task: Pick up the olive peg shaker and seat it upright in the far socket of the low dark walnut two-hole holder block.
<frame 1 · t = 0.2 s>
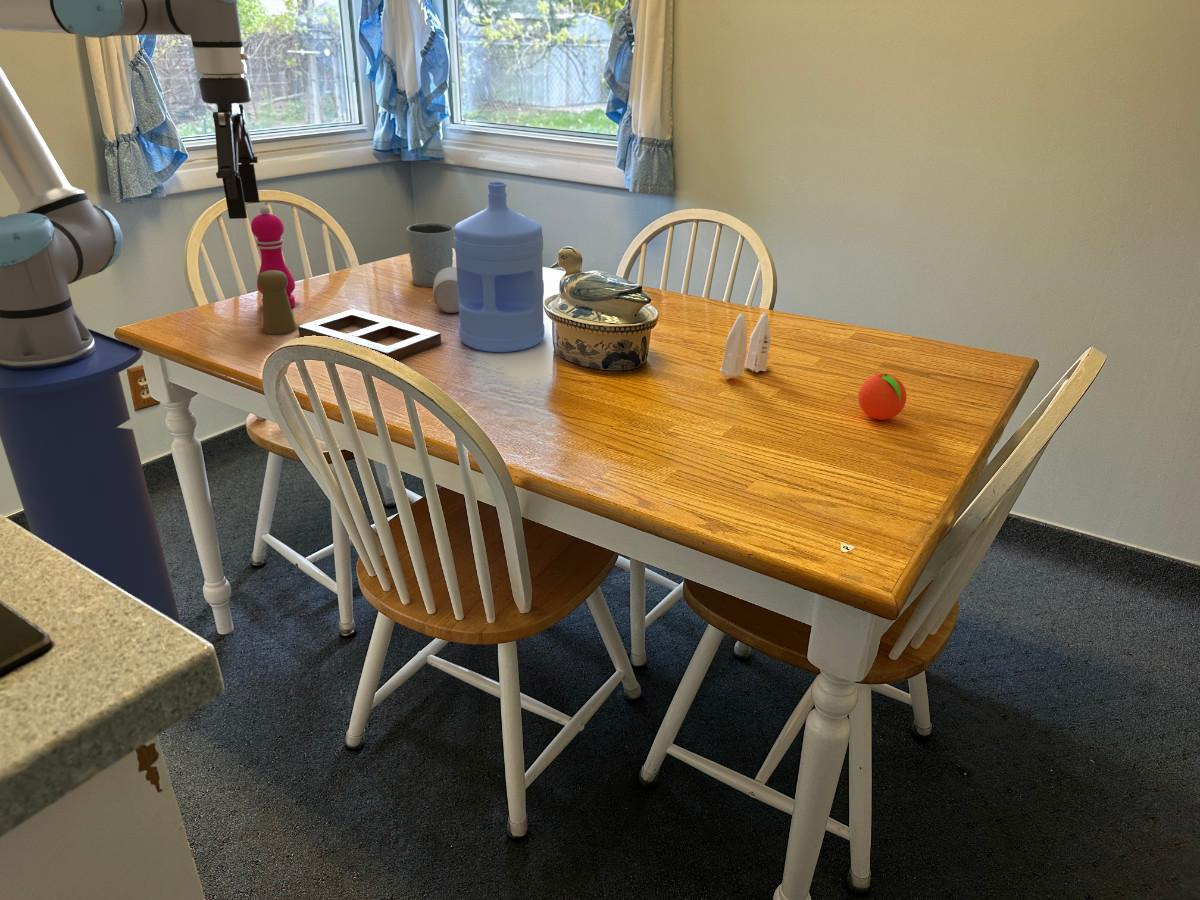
hand: (245, 210, 151), 23 cm above the table, tool pointing down, fingers open, 13 cm apart
shaker set: (743, 375, 149), on the table
holder: (369, 339, 161), on the table
clementine: (880, 420, 133), on the table
olive peg shaker: (280, 330, 166), on the table
grey tapered cup: (433, 282, 196), on the table
pepper mill: (279, 306, 179), on the table
water jug: (502, 340, 163), on the table
ceramic mug: (459, 309, 179), on the table
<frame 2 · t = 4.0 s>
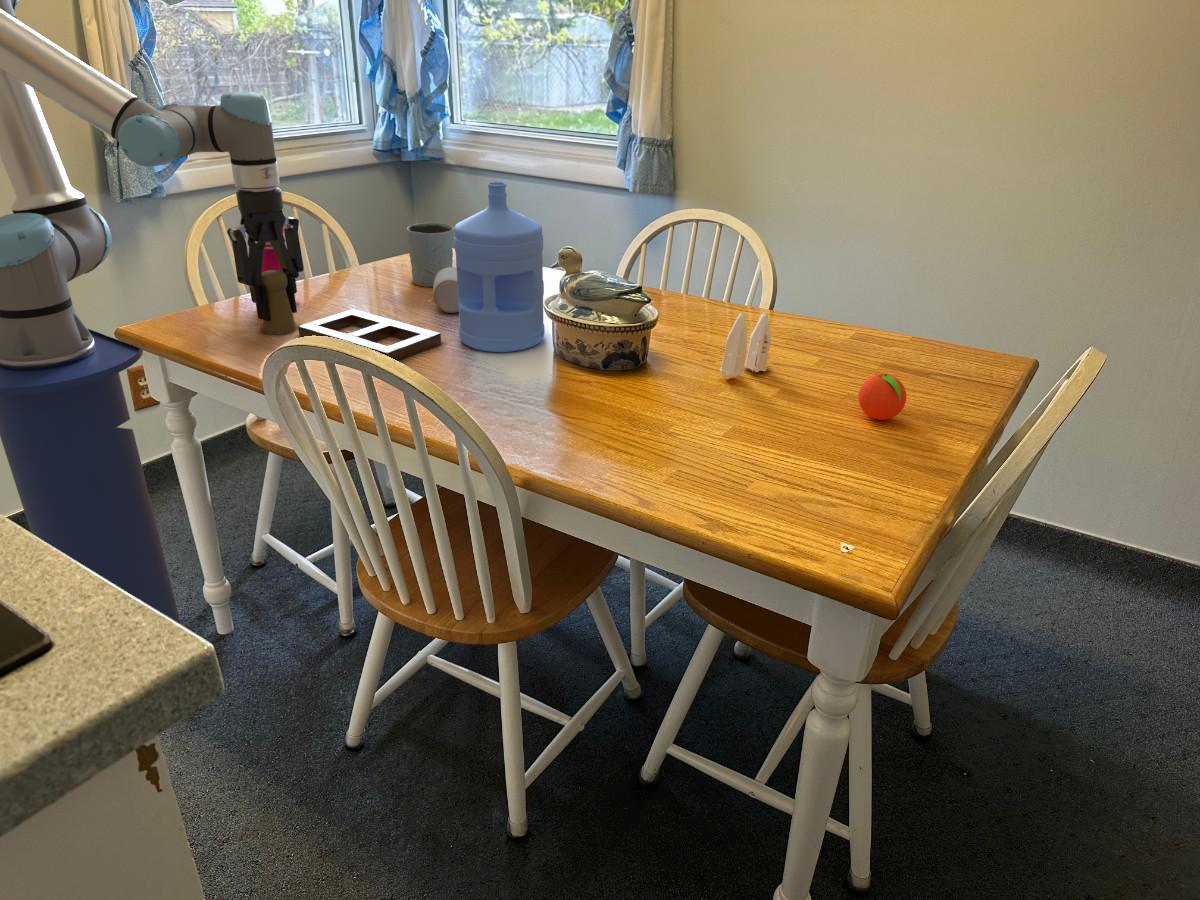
hand: (277, 314, 165), 3 cm above the table, tool pointing down, fingers closed on olive peg shaker, 5 cm apart
olive peg shaker: (280, 330, 166), on the table, touching gripper
everything else where it was.
when the fingers open (3 cm above the table, at t = 12.3 s): olive peg shaker stays where it is, resting in holder.
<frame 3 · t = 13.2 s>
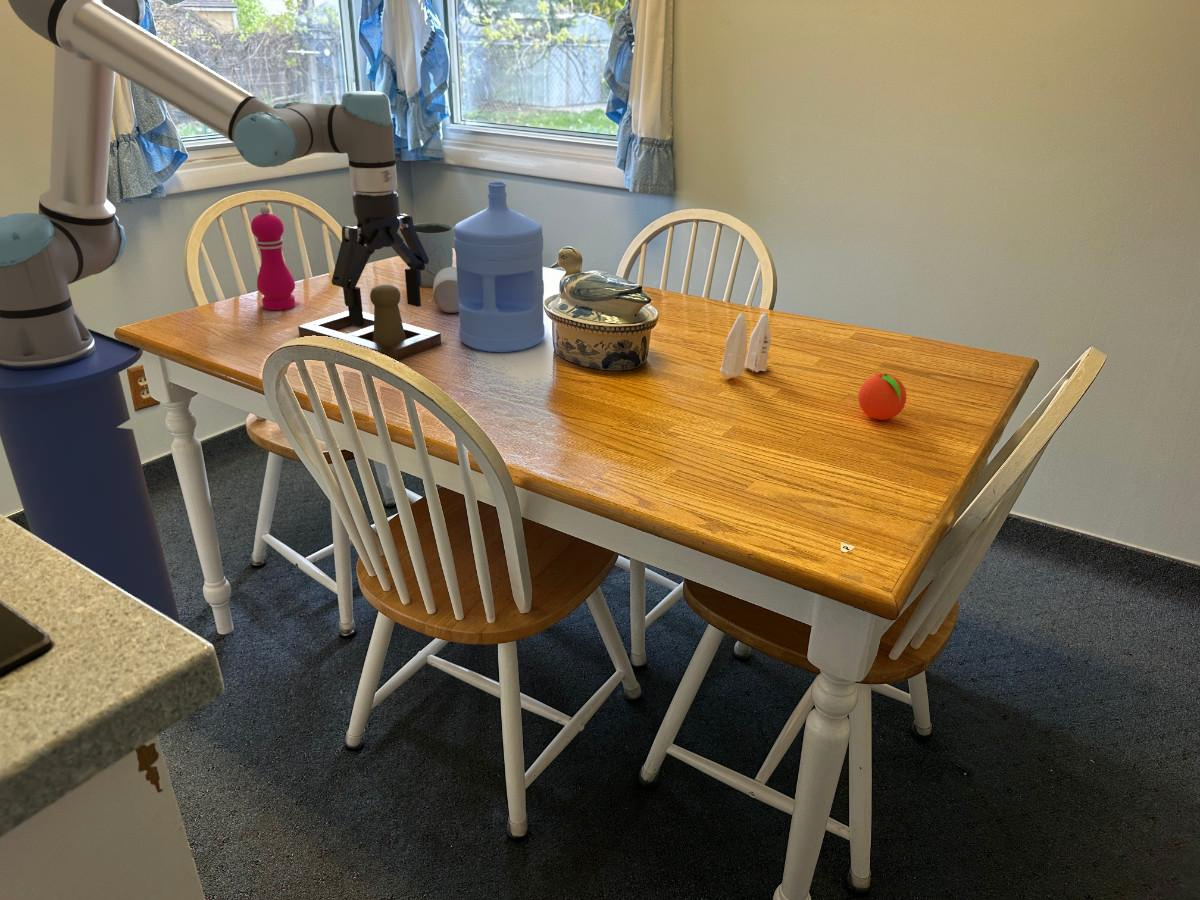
hand: (386, 314, 156), 6 cm above the table, tool pointing down, fingers open, 13 cm apart
olive peg shaker: (390, 346, 159), resting in holder
everything else where it was.
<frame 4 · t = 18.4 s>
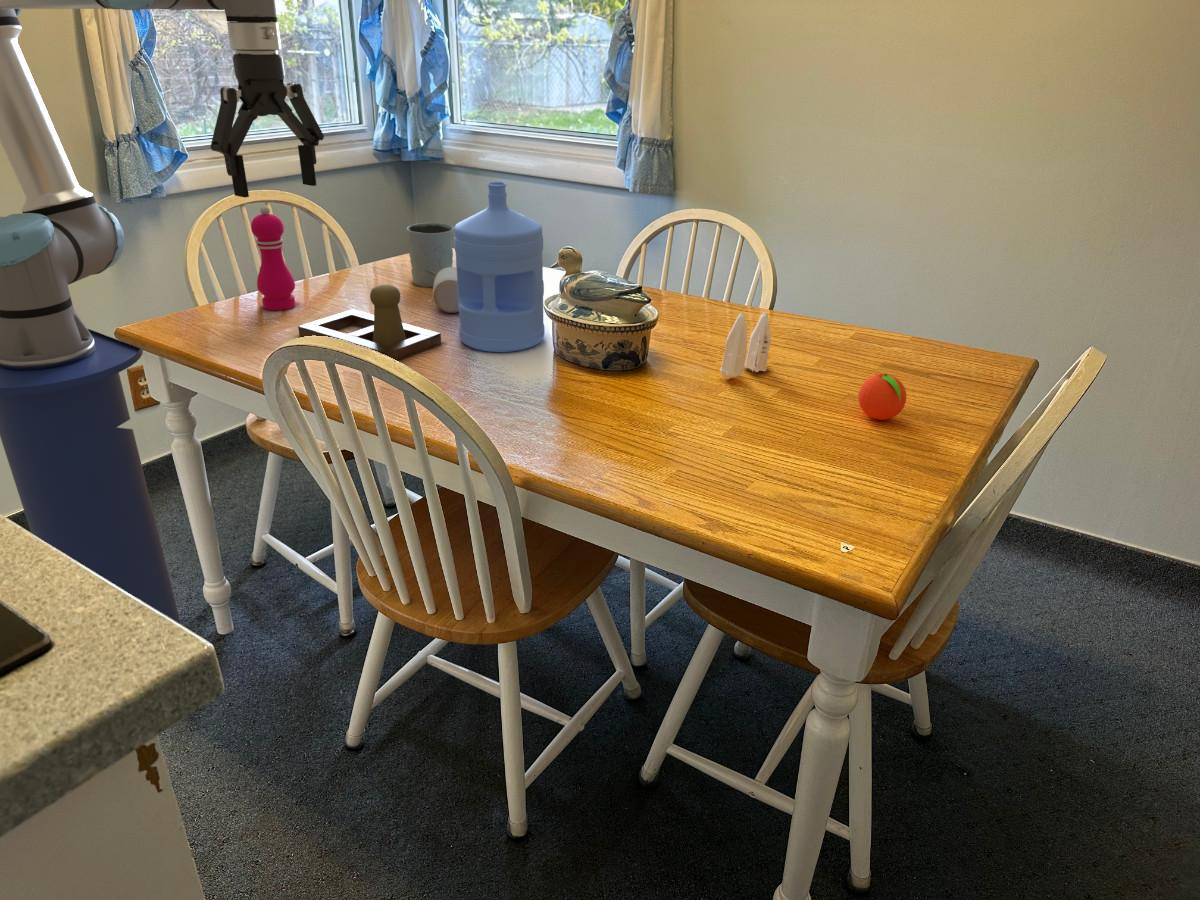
hand: (277, 190, 148), 27 cm above the table, tool pointing down, fingers open, 13 cm apart
nothing on the table moved.
at the end: olive peg shaker 0.0 cm from the target spot in the holder, point 0.0 cm above the holder's base; olive peg shaker tilted 0°; the gripper is holding nothing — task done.
